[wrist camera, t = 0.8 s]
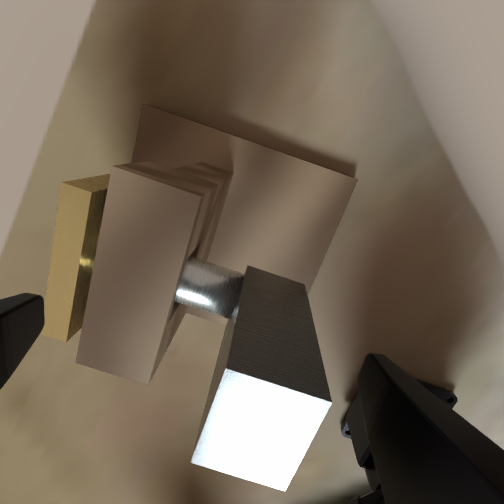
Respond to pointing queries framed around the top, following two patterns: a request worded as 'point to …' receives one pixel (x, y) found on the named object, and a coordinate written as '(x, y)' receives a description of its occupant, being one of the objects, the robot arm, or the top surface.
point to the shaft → (258, 373)
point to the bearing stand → (196, 232)
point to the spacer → (73, 254)
